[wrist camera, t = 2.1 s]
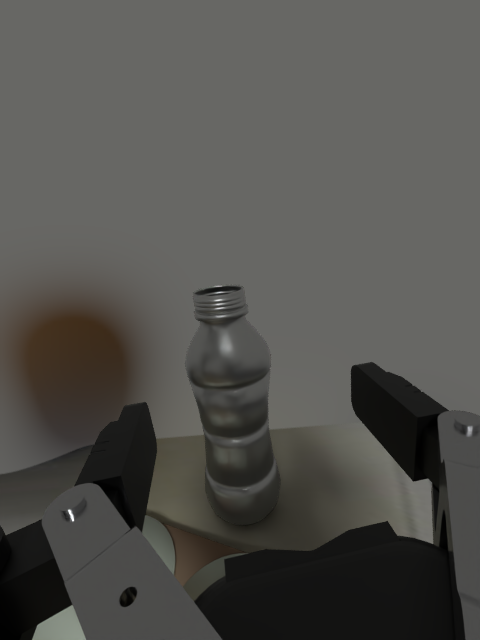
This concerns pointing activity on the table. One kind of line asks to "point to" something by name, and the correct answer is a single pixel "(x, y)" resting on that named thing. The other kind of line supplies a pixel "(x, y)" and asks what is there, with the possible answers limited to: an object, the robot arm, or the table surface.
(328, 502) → the table surface
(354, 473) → the table surface
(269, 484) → the plastic bottle
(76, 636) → the board
